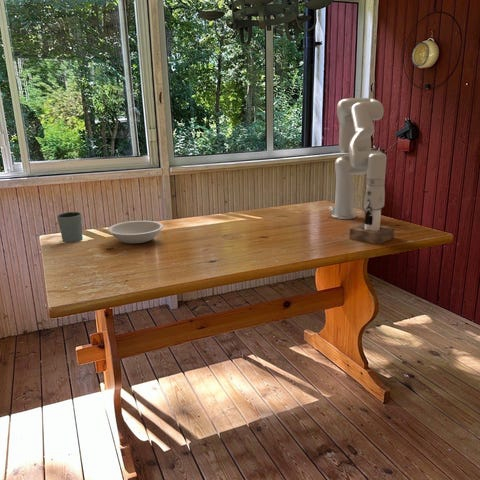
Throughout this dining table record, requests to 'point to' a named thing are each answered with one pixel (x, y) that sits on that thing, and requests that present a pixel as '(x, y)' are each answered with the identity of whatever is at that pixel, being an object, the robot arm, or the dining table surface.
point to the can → (374, 221)
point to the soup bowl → (135, 231)
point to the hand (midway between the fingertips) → (372, 222)
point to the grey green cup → (70, 226)
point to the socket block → (371, 234)
